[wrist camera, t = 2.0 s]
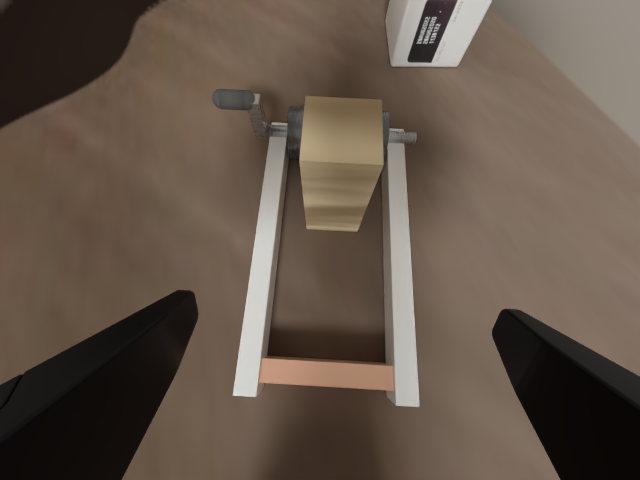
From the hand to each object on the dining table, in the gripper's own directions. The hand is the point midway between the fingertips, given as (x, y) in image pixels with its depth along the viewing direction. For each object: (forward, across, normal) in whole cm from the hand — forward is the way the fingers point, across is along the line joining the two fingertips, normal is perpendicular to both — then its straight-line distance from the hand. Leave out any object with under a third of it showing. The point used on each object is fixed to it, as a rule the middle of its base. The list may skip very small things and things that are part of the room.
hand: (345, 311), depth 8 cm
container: (+33, -9, -12) cm, 36 cm away
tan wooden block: (+17, 0, +3) cm, 17 cm away
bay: (+15, +1, +5) cm, 16 cm away
